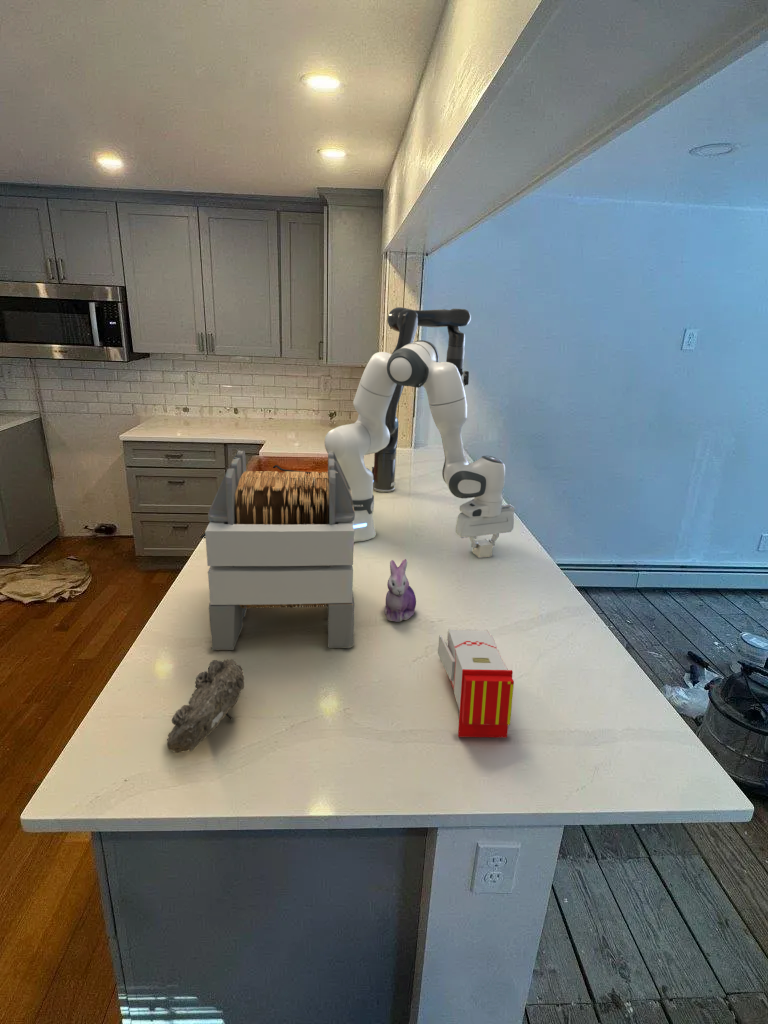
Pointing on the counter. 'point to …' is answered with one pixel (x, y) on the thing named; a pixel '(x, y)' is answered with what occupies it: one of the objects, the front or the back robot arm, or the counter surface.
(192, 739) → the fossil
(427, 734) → the counter surface
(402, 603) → the figurine
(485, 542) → the brick
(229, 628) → the grey record crate stand
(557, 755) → the counter surface
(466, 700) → the toy
